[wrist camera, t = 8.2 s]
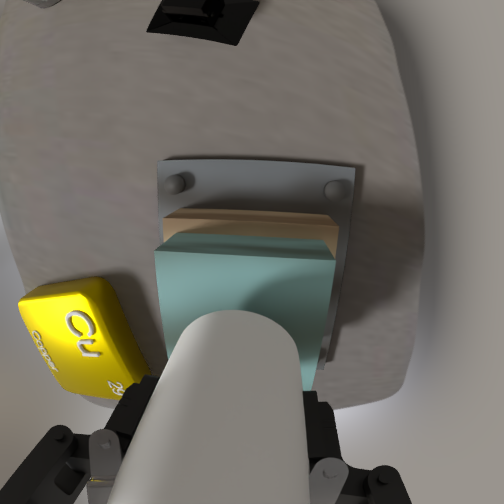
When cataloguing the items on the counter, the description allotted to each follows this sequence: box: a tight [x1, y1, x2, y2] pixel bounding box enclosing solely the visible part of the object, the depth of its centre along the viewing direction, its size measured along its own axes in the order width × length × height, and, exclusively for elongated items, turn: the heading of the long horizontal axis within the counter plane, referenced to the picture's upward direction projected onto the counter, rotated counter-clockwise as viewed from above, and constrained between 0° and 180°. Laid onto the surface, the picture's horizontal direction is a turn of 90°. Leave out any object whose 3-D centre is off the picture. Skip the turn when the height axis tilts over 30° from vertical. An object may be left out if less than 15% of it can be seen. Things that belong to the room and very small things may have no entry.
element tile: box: [18, 277, 151, 400], centre depth 27 cm, size 15×15×5 cm
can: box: [107, 310, 310, 504], centre depth 9 cm, size 6×6×12 cm
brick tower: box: [154, 159, 355, 391], centre depth 21 cm, size 20×16×9 cm
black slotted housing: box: [146, 0, 260, 46], centre depth 16 cm, size 12×7×5 cm, turn 70°
